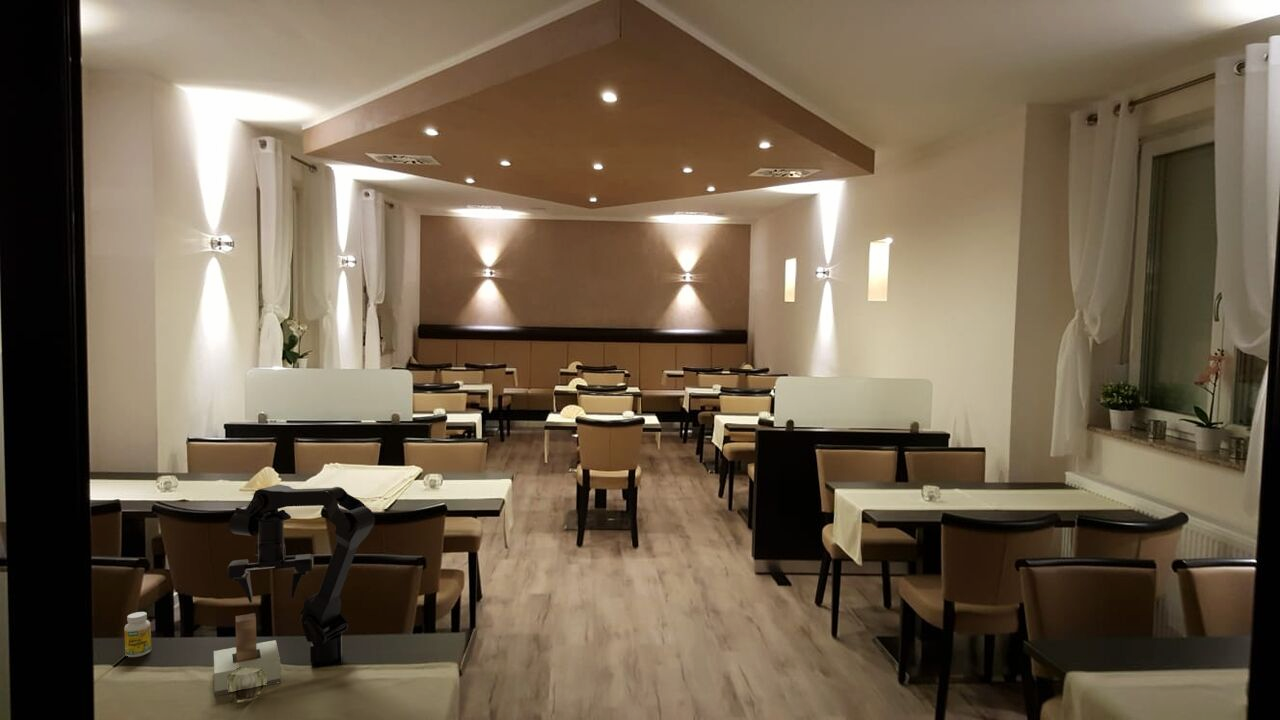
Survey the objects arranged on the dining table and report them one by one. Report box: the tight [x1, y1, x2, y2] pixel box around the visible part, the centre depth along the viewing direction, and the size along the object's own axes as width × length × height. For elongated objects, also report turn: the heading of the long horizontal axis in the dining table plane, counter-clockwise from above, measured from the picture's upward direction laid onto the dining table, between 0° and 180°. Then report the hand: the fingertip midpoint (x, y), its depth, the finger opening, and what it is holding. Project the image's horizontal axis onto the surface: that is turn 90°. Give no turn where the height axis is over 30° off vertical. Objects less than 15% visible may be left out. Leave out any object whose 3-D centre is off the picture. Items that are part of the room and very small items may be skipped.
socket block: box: [213, 639, 282, 697], centre depth 175 cm, size 13×13×5 cm
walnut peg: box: [235, 612, 257, 663], centre depth 174 cm, size 4×4×13 cm
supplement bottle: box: [123, 611, 152, 658], centre depth 187 cm, size 5×5×10 cm
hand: (272, 600), depth 188 cm, fingers open, 9 cm apart
